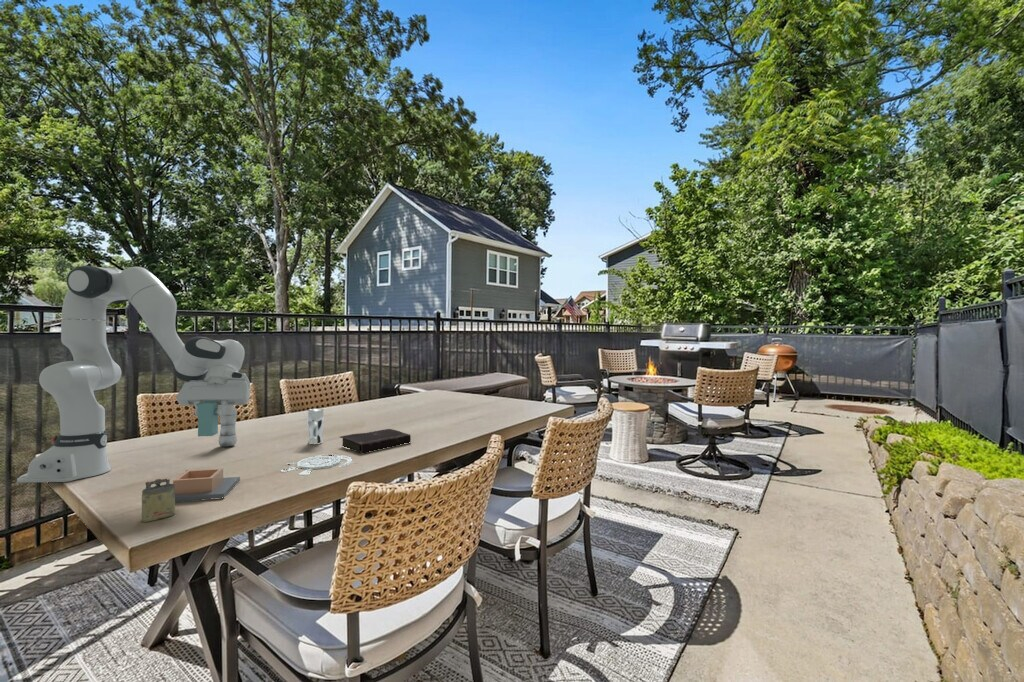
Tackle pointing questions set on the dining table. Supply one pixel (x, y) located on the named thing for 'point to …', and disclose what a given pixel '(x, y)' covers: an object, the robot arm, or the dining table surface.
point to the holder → (203, 485)
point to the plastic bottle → (228, 427)
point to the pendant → (319, 463)
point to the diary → (375, 440)
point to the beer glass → (315, 425)
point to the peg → (207, 419)
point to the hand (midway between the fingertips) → (207, 414)
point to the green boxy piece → (158, 500)
